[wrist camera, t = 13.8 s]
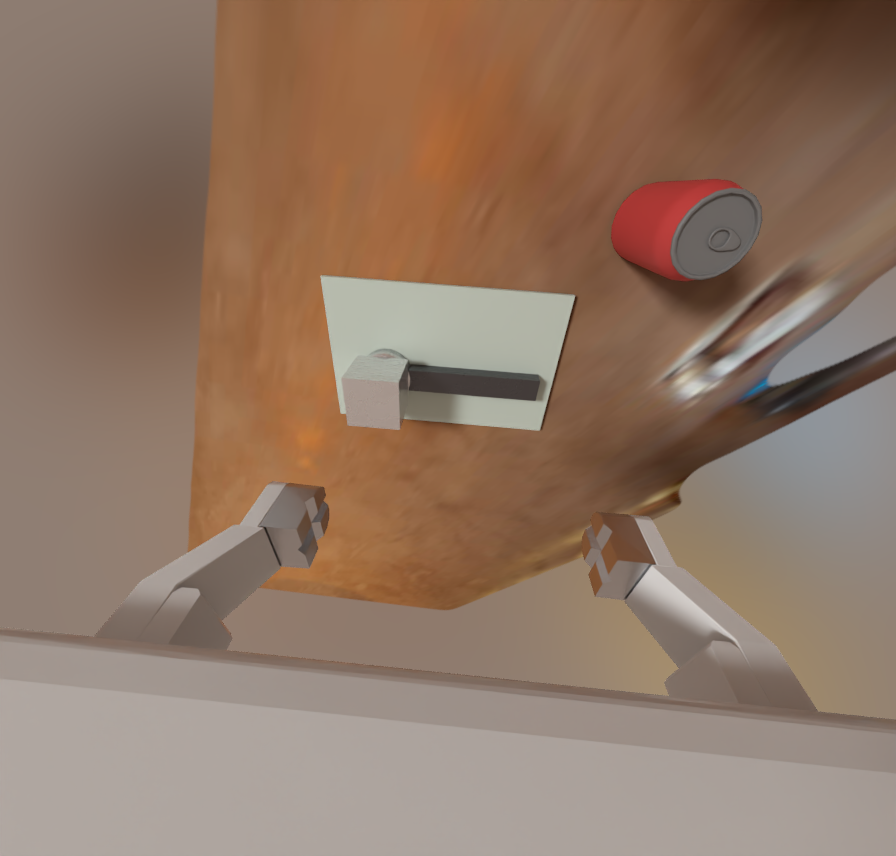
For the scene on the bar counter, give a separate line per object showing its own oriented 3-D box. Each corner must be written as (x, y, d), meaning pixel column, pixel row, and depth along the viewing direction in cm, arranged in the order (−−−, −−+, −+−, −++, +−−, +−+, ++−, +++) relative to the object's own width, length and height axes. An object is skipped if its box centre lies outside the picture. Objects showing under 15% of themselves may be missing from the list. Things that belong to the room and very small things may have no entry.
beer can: (654, 268, 35) (723, 298, 25) (596, 250, 35) (644, 273, 25) (697, 194, 32) (797, 196, 22) (632, 172, 31) (706, 163, 21)
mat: (322, 275, 38) (320, 276, 37) (573, 294, 37) (575, 295, 37) (342, 411, 48) (340, 413, 48) (539, 428, 48) (539, 430, 47)
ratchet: (360, 346, 42) (347, 364, 37) (541, 361, 41) (548, 380, 37) (365, 392, 45) (353, 412, 41) (530, 405, 45) (536, 428, 41)
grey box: (357, 355, 40) (341, 377, 35) (408, 359, 40) (398, 382, 35) (362, 398, 43) (347, 425, 39) (408, 402, 43) (400, 429, 38)
